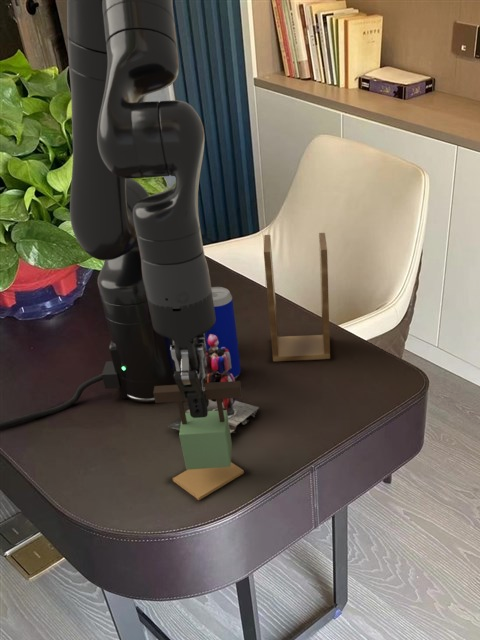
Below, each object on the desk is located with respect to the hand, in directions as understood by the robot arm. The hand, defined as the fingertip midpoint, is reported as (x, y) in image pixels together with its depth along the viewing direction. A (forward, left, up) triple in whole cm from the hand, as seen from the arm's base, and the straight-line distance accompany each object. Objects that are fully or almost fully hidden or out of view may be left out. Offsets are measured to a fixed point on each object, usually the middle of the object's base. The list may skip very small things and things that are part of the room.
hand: (200, 410), depth 95 cm
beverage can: (+1, +27, -12) cm, 29 cm away
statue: (0, +13, -12) cm, 17 cm away
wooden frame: (+14, +34, -11) cm, 38 cm away
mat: (0, 0, -11) cm, 11 cm away
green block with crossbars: (0, 0, -8) cm, 8 cm away
